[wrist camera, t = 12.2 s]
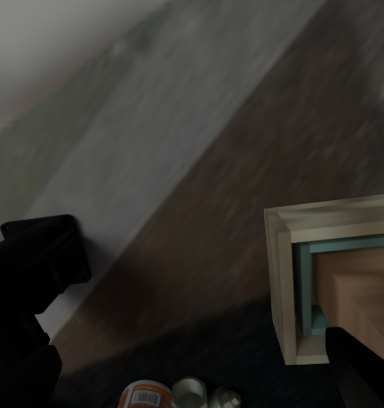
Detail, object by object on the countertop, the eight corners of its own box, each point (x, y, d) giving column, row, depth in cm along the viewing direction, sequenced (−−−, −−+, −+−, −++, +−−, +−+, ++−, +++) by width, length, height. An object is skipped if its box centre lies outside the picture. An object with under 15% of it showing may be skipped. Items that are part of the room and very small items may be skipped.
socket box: (272, 320, 23) (286, 365, 19) (263, 208, 20) (277, 232, 16) (402, 311, 22) (447, 357, 18) (415, 190, 19) (474, 211, 15)
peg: (313, 294, 21) (380, 412, 13) (311, 246, 20) (386, 342, 11) (371, 289, 21) (483, 409, 12) (374, 239, 19) (502, 335, 11)
